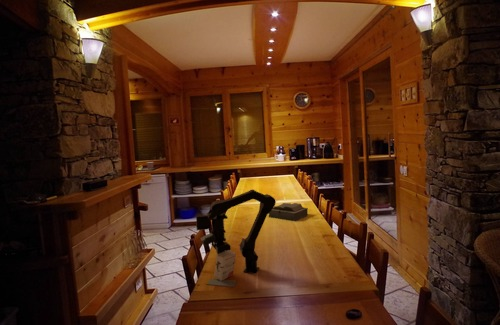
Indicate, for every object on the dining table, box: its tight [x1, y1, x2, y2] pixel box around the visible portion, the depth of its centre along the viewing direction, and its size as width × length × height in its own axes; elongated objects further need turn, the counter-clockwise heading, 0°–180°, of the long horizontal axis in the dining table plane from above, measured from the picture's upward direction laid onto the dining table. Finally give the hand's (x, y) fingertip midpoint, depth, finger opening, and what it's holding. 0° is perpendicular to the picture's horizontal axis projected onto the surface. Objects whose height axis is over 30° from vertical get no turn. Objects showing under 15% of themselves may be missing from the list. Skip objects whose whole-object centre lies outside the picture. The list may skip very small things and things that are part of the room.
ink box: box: [213, 250, 237, 281], centre depth 164 cm, size 9×5×12 cm, turn 141°
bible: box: [268, 202, 309, 222], centre depth 267 cm, size 23×27×10 cm
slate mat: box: [206, 278, 238, 288], centre depth 159 cm, size 6×13×1 cm, turn 73°
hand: (219, 259), depth 168 cm, fingers closed
